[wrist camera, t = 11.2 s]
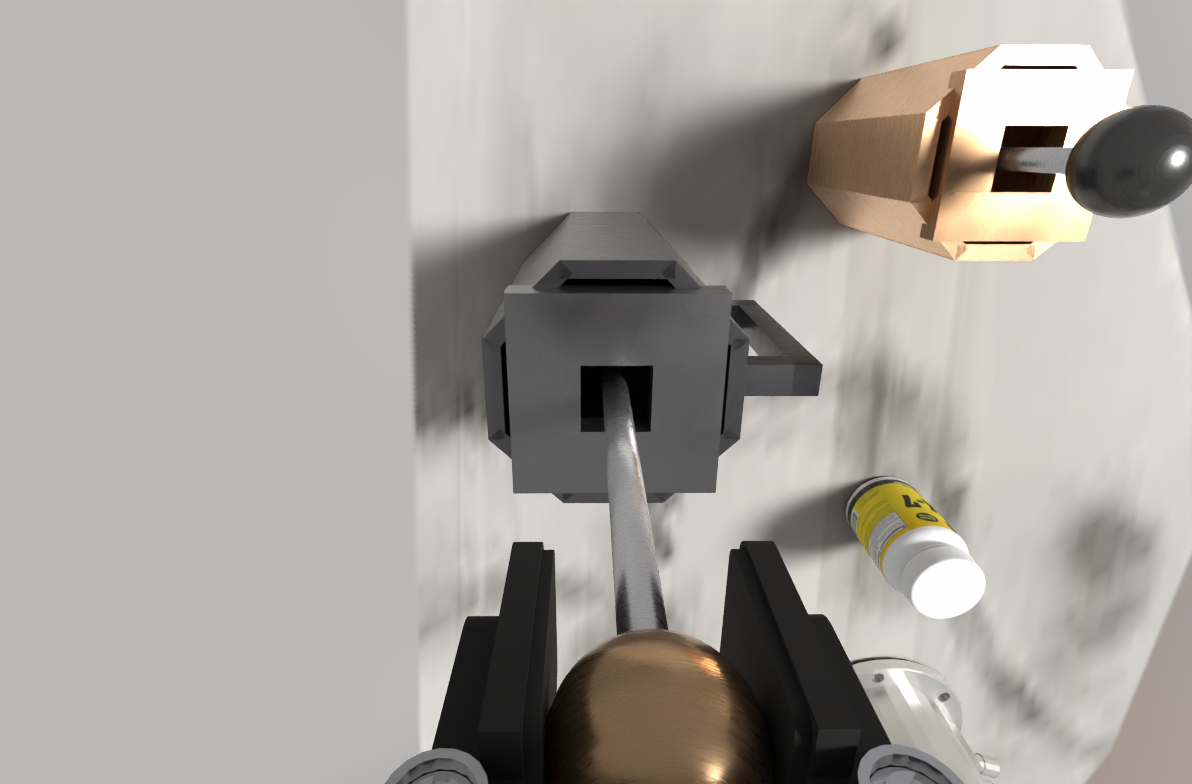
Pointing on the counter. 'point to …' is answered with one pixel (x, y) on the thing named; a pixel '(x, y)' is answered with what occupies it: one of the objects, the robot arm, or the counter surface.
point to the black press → (626, 362)
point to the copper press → (963, 150)
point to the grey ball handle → (1119, 161)
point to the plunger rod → (649, 665)
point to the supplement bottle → (915, 548)
